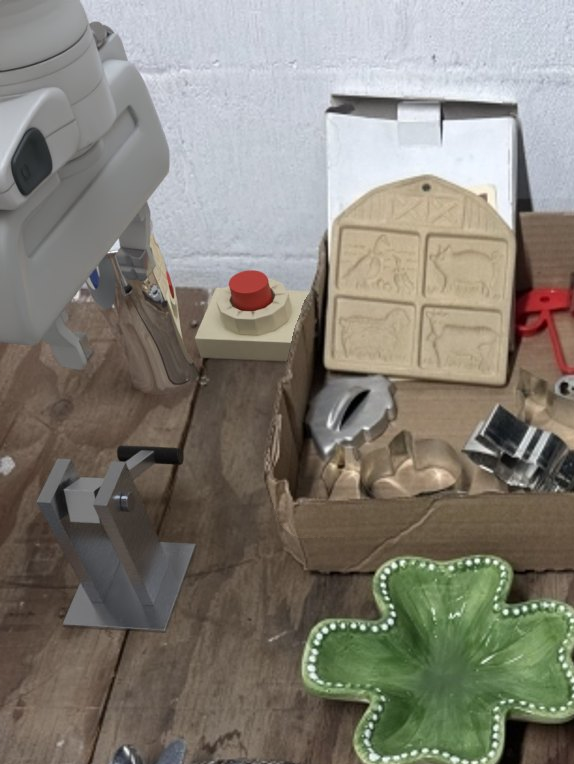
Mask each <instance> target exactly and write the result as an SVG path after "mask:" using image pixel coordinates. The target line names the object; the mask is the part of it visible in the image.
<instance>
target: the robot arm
mask: <svg viewBox="0 0 574 764" xmlns="http://www.w3.org/2000/svg"><path fill="white" fill-rule="evenodd" d="M151 96H152V95H151V93H150V91H149V89H148V87H147V85H146V82H145V80H144V78H143V76H142V74H141V73H140V71H139V70H138V68H137V67H136V66H135V65H134V64H133V62H130V61H129V60H128V57H127V53H126V50H125V46H124V43H123V40H122V39H121V37H120V35H119V34H118V33H117V32H115V31H114V30H113V29H112V28H111V27H109V26H108V25H106V24H102V23H101V22H99V21H92V22H89V18H88V17H87V13H86V10H85V8H84V6H83V3H82V2H81V0H0V343H3V344H10V345H11V344H12V345H19V346H36V345H38V344H39V343H40V342H41V341H42V342H44V343H46V344H47V345H49V348H50V349H51V351H52V354H53V356H54V358H55V360H56V363H57V364H58V365H59V366H61V367H62V368H64V369H70V370H78V371H82V370H84V369H85V367H86V365H87V364H88V363H89V361H90V359H91V358H92V356H94V353H95V352H94V348H93V347H92V346H91V341H90V339H89V335H88V333H87V332H86V331H80V330H73V331H71V330H70V329H69V327H68V326H66V325H65V324H68V321H69V314H68V313H67V310H66V308H67V307H68V305H69V304H70V303H71V302H72V300H73V299H74V298H75V297H76V295H77V294H78V292H79V291H80V290H81V289H82V287H83V286H84V285H85V284H86V280H87V279H88V278H89V276H90V275H91V274H92V273H93V271H94V270H95V269H96V267H97V266H98V265H99V263H100V262H101V261H102V259H103V258H104V257H105V255H106V254H107V253H108V252H109V250H110V249H111V248H112V246H113V245H114V244H115V242H116V241H117V240H118V238H119V243H120V249H119V250H118V252H117V253H116V254H115V255H116V258H117V261H118V263H119V264H120V265H121V272H122V274H123V275H124V276H125V277H126V278H127V279H130V280H135V279H138V280H139V281H145V280H146V279H147V278H148V277H149V275H150V274H151V273H152V271H153V270H154V268H155V266H156V264H155V261H154V258H153V255H152V252H151V249H150V219H151V209H150V206H149V203H148V200H149V199H150V198H151V197H152V195H153V194H155V192H156V190H157V189H158V188H159V186H160V185H161V183H162V182H163V181H164V180H165V178H167V176H168V174H169V172H170V158H171V155H170V154H171V153H170V147H169V143H168V140H167V137H166V134H165V132H164V127H163V126H162V125H163V124H162V123H161V120H160V118H159V115H158V112H157V109H156V107H155V104H154V101H153V98H152V97H151Z"/></svg>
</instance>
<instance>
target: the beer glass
mask: <svg viewBox="0 0 574 764" xmlns="http://www.w3.org/2000/svg"><path fill="white" fill-rule="evenodd" d="M119 249H120V243H119V238H118V240H117V241H116V242H115V244H114V245H113V246H112V248H111V249H110V250H109V252H108V253H107V254H106V255H105V257H104V258H103V259H102V261H101V262H100V263H99V265H98V266H97V267H96V269H95V270H94V271H93V273H92V274H91V275H90V276H89V278H88V279H87V280H86V282H85V285H86V286H87V290H88V292H89V294H90V296H91V298H92V301H93V303H94V304H95V307H96V308H97V310H98V312H99V314H100V316H101V317H102V319H103V320H104V322H105V324H106V325H107V327H108V328H109V330H110V332H111V333H112V335H113V336H114V339H116V342H117V343H118V345H119V347H120V348H121V350H122V351H123V353H124V356H125V358H126V361H127V364H128V368H129V373H130V381H131V383H132V386H133V387H134V389H136V390H137V391H139V392H142V393H144V394H147V395H151V396H164V395H169V394H174V393H176V392H179V391H180V390H183V389H184V388H186V387H187V386H189V385H190V384H191V383H192V382H193V381H196V382H197V381H198V382H199V381H200V371H199V369H198V367H197V365H196V363H195V361H194V360H193V358H192V356H191V354H190V353H189V351H188V349H187V346H186V344H185V340H184V336H183V331H182V325H181V318H180V317H181V316H180V310H179V303H178V295H177V291H176V287H175V286H176V285H175V280H174V277H173V273H172V270H171V267H170V264H169V260H168V258H167V255H166V252H165V250H164V247H163V246H162V243H161V240H160V239H159V235H158V234H157V231H156V229H155V226H154V223H153V220H152V219H151V218H150V249H151V252H152V255H153V258H154V261H155V264H156V266H155V268H154V270H153V271H152V273H151V274H150V275H149V277H148V278H147V279H146V280H145V281H139V280H138V279H135V280H130V279H127V278H126V277H125V276H124V275H123V274H122V272H121V265H120V264H119V263H118V261H117V258H116V255H115V254H116V253H117V252H118V250H119Z"/></svg>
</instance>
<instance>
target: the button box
mask: <svg viewBox="0 0 574 764" xmlns="http://www.w3.org/2000/svg"><path fill="white" fill-rule="evenodd" d="M267 278H268V282H269V286H270V290H271V294H272V303H271V304H270V305H268V306H267V307H266V308H263V309H260V310H256V311H241V310H239V309H237V308H236V307H235V306H234V302H233V299H232V295H231V292H230V288H229V284H228V285H227V286H225V287H215V288H214V291H213V294H212V296H211V299H210V301H209V303H208V306H207V308H206V310H205V313H204V315H203V318H202V321H200V325H199V327H198V329H197V331H196V334H195V336H194V341H195V344H196V348H197V350H198V353H199V356H200V358H201V359H221V360H223V359H225V360H226V359H227V360H242V361H243V360H244V361H245V360H249V361H270V362H288V361H287V358H288V354H289V349H290V345H291V341H292V336H293V332H294V328H295V325H296V323H297V320H298V318H299V315H300V313H301V308H302V305H303V303H304V300H305V299H306V297H307V295H308V294H309V292H310V290H289V289H288V290H287V288H286V286H285V285H284V284H283V282H280V281H278V280H276V279H273V278H271V277H267Z"/></svg>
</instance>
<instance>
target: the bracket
mask: <svg viewBox="0 0 574 764" xmlns="http://www.w3.org/2000/svg"><path fill="white" fill-rule="evenodd" d="M104 477H105V478H104ZM104 477H103V478H104V481H103V483H102V485H101V487H100V489H99V492H98V494H97V496H96V498H95V501H94V503H93V506H94V508H95V510H96V512H97V514H98V516H99V518H100V521H101V523H82V522H70V518H69V513H68V508H67V503H66V499H65V494H64V489H65V488H67V487H68V486H69V485H71V484H72V483H74V482H75V481H77V480H78V479H80V478H81V476H80V475H79V473H78V471H77V469H76V467H75V465H74V463H73V461H72V459H71V458H57V459H56V461H55V463H54V465H53V466H52V469H51V471H50V473H49V475H48V476H47V479H46V481H45V483H44V485H43V487H42V490H41V492H40V494H39V495H38V498H37V500H36V504H37V505H38V507H39V509H40V511H41V513H42V515H43V517H44V518H45V521H46V522H47V524H48V526H49V528H50V530H51V532H52V533H53V535H54V536H55V539H56V540H57V542H58V544H59V546H60V548H61V550H62V551H63V553H64V555H65V557H66V559H67V561H68V563H69V564H70V566H71V568H72V570H73V572H74V574H75V576H76V577H77V580H78V581H79V585H78V587H77V589H76V592H75V593H74V597H72V598H73V599H72V601H71V603H70V605H69V608H68V610H67V611H66V615H65V617H64V619H63V621H62V626H63V627H64V628H76V629H77V628H78V629H94V630H113V631H129V632H131V631H132V632H145V633H149V632H150V633H167V630H168V628H169V625H170V622H171V619H172V616H173V615H174V611H175V608H176V605H177V603H178V600H179V597H180V594H181V593H182V590H183V586H184V583H185V580H186V578H187V575H188V572H189V570H190V567H191V564H192V560H193V558H194V555H195V552H196V550H197V544H196V543H189V542H172V541H171V542H168V541H160V539H159V537H158V534H157V532H156V530H155V527H154V524H153V523H152V520H151V518H150V515H149V513H148V511H147V508H146V506H145V504H144V501H143V499H142V497H141V495H140V492H139V490H138V487H137V485H136V484H135V481H134V480H133V478H132V476H131V474H130V471H129V469H128V467H127V464H126V462H120V461H119V460H118V461H114V460H112V461H111V463H110V464H109V467H108V468H107V471H106V473H105V476H104Z"/></svg>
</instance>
